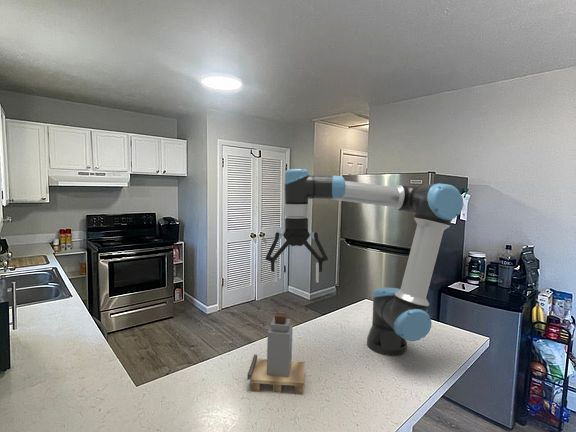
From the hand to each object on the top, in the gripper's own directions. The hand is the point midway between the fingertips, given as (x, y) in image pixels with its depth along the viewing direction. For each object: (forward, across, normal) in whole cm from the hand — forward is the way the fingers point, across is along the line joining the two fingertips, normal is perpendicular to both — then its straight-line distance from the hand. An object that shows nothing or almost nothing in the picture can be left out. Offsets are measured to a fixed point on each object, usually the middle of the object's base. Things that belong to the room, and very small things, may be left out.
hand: (296, 281), depth 106 cm
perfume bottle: (+27, +5, +7) cm, 28 cm away
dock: (+30, +6, +7) cm, 31 cm away
